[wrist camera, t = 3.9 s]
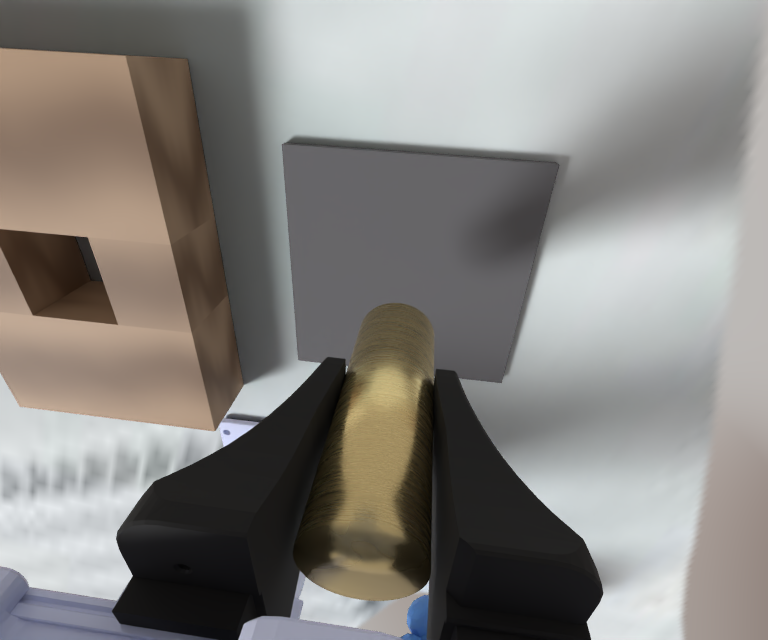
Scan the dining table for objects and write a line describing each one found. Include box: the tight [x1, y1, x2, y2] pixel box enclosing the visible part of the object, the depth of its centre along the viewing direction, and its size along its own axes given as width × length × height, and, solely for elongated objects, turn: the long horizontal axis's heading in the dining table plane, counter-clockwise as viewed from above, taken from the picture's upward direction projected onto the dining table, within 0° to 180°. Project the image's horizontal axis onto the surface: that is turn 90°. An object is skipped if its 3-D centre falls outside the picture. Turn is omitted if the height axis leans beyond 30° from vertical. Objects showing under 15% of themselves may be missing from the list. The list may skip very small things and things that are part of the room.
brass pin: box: [293, 303, 434, 601], centre depth 13 cm, size 3×3×9 cm
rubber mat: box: [282, 143, 559, 383], centre depth 21 cm, size 12×12×1 cm
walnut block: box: [0, 48, 244, 431], centre depth 21 cm, size 18×12×4 cm, turn 177°
